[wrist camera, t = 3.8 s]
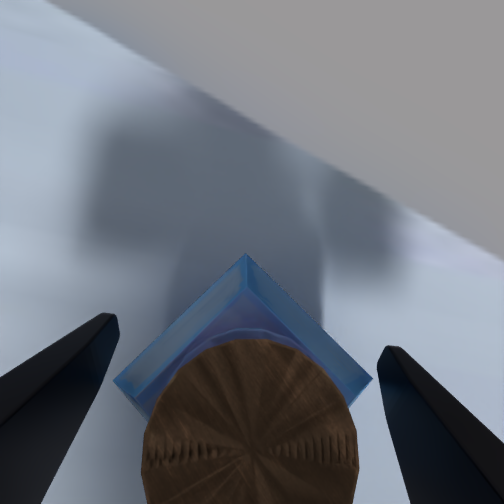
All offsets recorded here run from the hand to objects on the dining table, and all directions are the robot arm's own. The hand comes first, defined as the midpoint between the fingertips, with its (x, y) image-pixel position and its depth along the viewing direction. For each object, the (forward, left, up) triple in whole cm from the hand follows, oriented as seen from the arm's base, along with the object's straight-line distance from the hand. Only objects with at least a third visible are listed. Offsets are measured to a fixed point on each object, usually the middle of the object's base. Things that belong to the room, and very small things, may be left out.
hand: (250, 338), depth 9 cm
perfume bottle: (-1, +1, -7) cm, 7 cm away
